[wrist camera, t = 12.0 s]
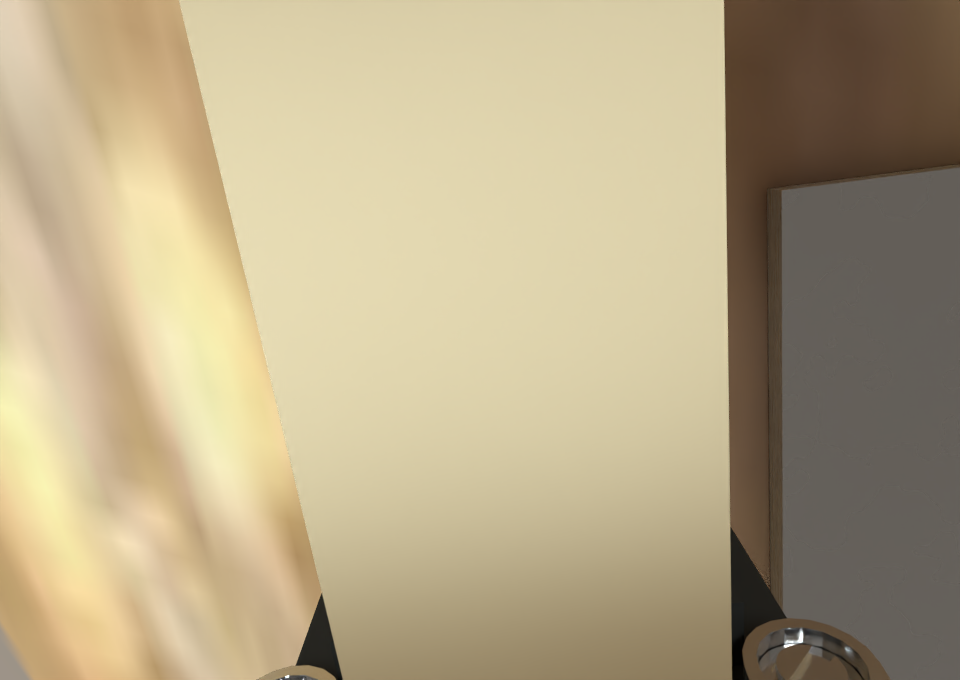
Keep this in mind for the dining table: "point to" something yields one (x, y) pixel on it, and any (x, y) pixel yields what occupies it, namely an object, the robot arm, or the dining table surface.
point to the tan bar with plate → (492, 321)
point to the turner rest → (868, 412)
